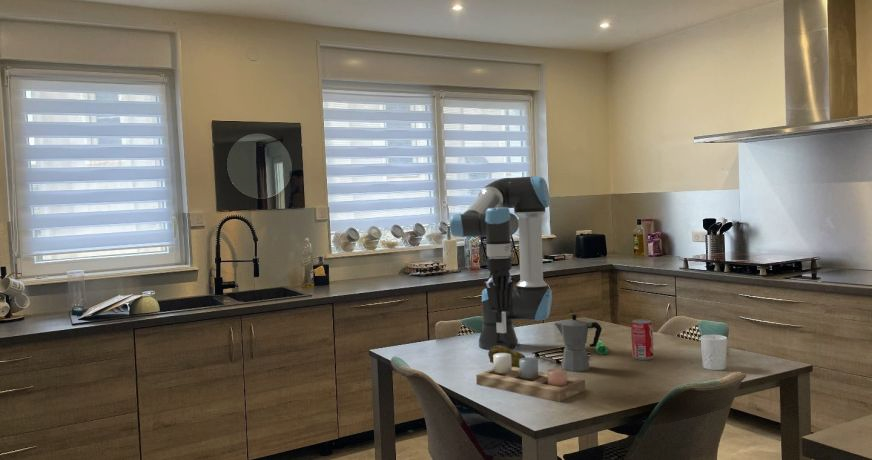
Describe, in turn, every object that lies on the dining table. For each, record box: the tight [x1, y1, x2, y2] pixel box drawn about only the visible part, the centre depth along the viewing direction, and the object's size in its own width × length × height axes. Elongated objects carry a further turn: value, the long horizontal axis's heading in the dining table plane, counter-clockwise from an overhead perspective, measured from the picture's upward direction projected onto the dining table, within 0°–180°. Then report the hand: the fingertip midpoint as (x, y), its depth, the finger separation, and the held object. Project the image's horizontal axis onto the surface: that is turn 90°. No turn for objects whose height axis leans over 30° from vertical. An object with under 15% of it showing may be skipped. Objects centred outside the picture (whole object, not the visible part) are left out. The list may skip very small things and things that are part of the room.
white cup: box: [700, 334, 728, 371], centre depth 215 cm, size 8×8×10 cm
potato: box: [487, 346, 526, 368], centre depth 223 cm, size 8×13×8 cm, turn 89°
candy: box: [592, 338, 609, 355], centre depth 243 cm, size 12×3×4 cm
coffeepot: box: [554, 313, 603, 373], centre depth 220 cm, size 15×9×18 cm, turn 68°
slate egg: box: [519, 356, 539, 378], centre depth 201 cm, size 6×6×5 cm
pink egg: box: [546, 368, 568, 387], centre depth 194 cm, size 6×6×5 cm
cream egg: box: [492, 353, 512, 373], centre depth 208 cm, size 6×6×5 cm
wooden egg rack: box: [475, 367, 586, 403], centre depth 201 cm, size 30×14×3 cm, turn 47°
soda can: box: [630, 318, 655, 361], centre depth 230 cm, size 7×7×13 cm
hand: (501, 332), depth 207 cm, fingers closed
